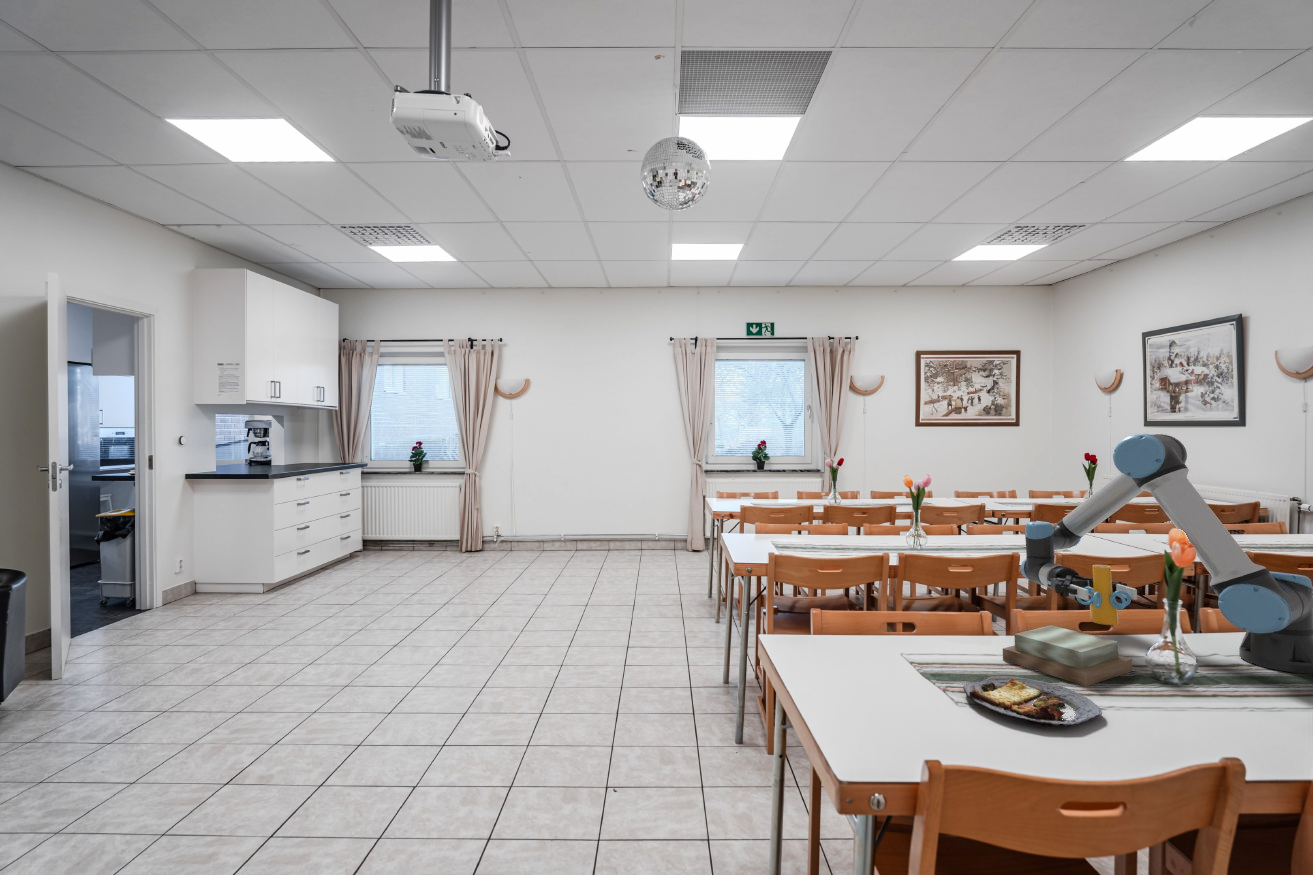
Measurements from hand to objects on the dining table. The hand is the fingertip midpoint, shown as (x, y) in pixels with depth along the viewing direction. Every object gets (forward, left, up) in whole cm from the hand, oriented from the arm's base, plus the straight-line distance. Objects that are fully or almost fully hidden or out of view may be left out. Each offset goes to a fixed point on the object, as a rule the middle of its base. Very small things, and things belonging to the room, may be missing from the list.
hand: (1111, 594), depth 157 cm
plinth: (+3, +16, -17) cm, 23 cm away
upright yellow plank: (+3, -2, -8) cm, 9 cm away
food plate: (-7, +48, -17) cm, 51 cm away
